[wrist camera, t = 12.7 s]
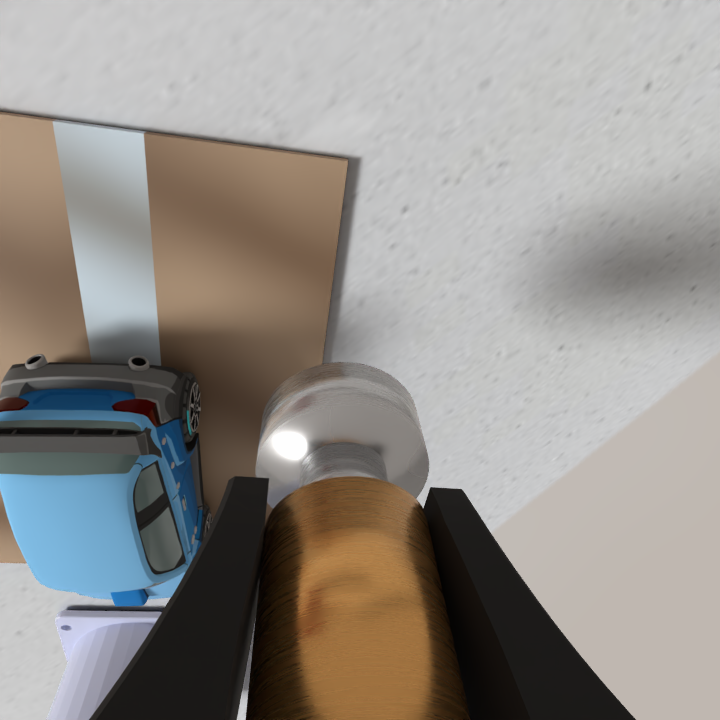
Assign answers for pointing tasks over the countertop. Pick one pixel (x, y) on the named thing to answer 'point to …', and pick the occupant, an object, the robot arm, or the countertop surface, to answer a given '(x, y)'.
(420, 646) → the coffee tamper
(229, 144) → the board
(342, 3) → the countertop surface
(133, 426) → the toy car
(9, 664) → the countertop surface
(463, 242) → the countertop surface
